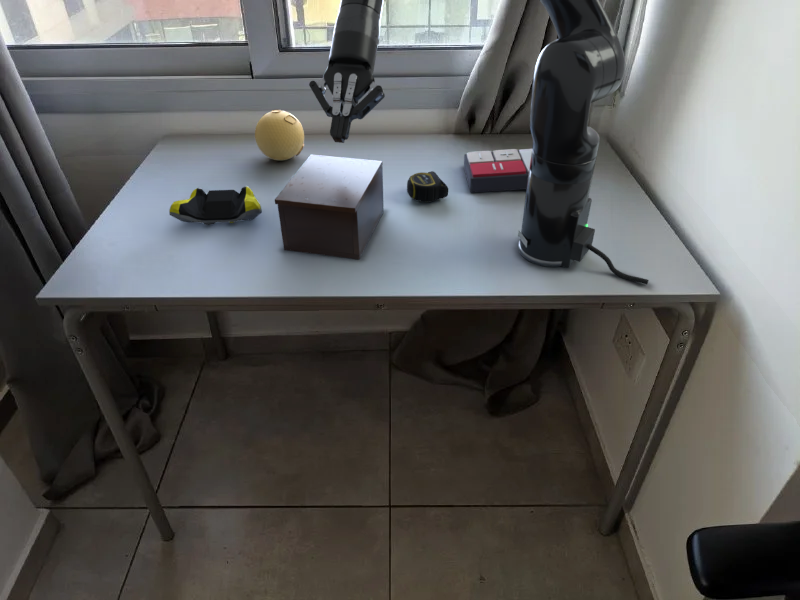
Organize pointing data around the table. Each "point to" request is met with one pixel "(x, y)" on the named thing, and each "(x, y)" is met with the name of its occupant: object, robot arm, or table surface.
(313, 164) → the lid
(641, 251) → the table surface
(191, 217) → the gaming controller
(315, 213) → the chest
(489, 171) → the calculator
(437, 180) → the tape measure
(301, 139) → the stress ball
